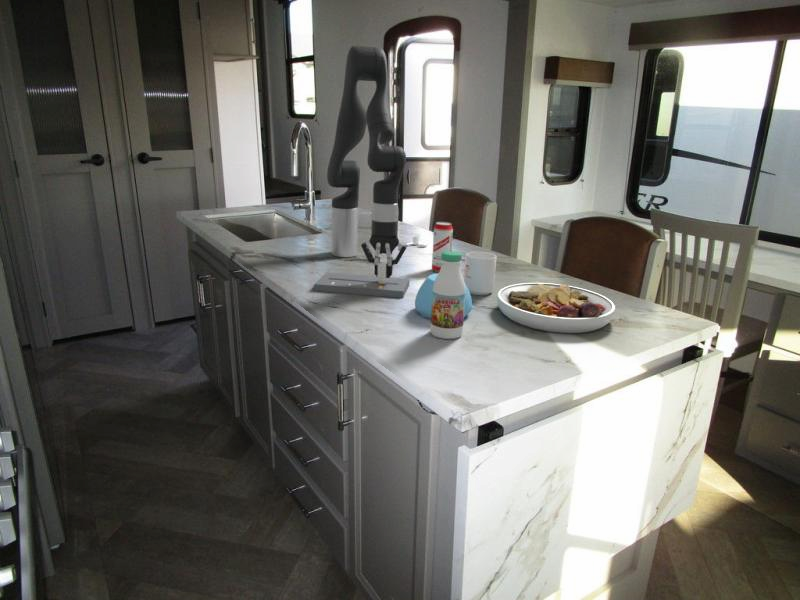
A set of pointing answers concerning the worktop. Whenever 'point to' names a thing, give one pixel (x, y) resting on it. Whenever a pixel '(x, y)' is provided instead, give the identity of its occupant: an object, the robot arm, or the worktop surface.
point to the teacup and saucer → (417, 241)
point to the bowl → (555, 307)
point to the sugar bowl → (425, 298)
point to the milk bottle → (448, 298)
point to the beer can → (441, 243)
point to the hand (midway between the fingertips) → (383, 276)
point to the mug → (480, 272)
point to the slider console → (361, 285)
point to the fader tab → (382, 271)
